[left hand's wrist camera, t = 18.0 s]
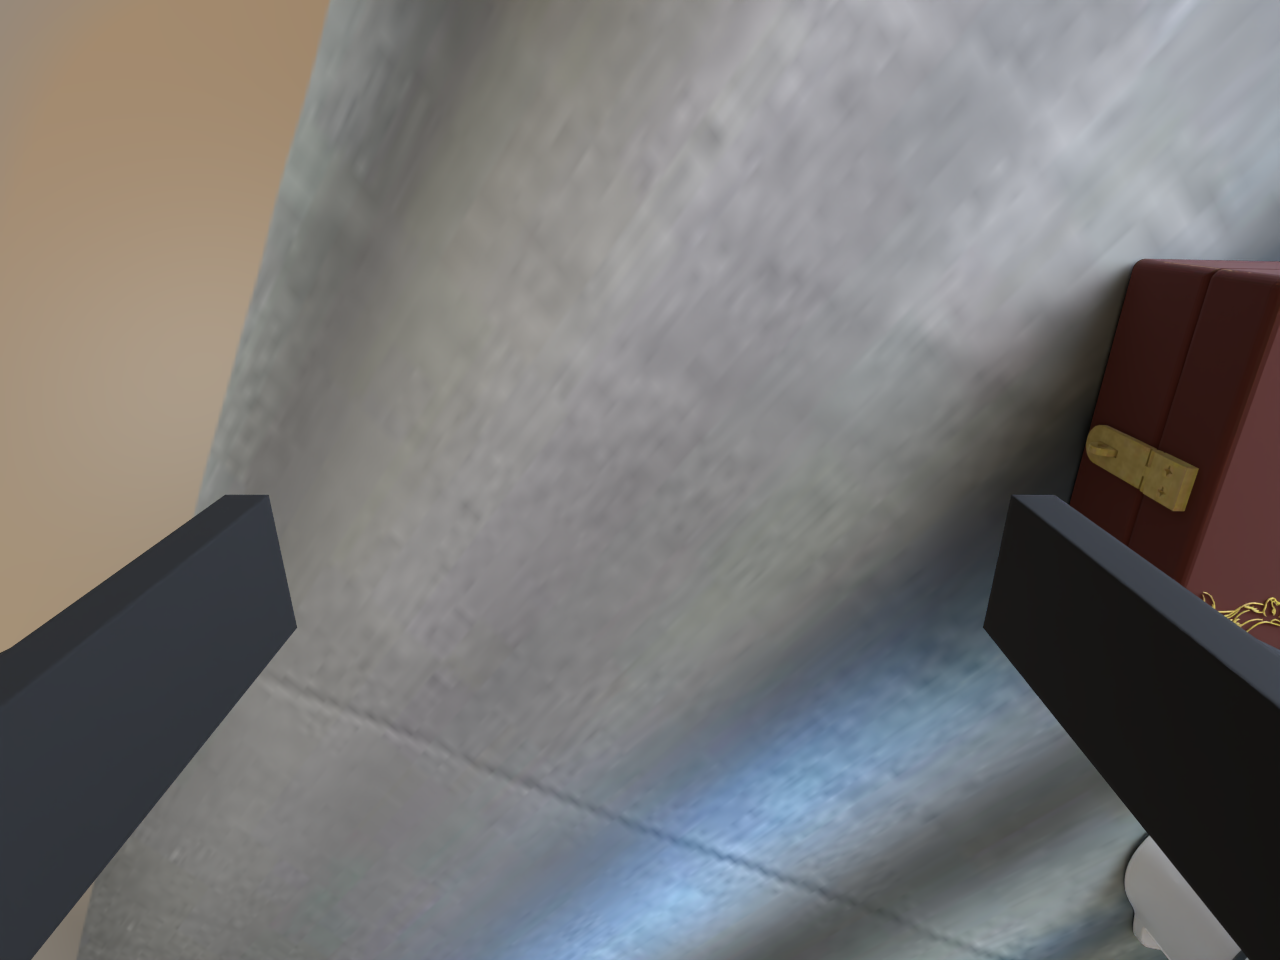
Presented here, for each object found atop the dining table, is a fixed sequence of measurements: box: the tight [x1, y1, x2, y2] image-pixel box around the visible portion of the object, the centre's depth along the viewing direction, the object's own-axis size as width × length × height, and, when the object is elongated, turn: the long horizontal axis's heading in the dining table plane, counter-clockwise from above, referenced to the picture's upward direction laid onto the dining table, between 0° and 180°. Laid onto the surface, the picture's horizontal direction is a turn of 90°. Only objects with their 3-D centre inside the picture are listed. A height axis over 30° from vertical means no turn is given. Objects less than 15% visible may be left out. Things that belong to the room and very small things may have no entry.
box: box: [1069, 259, 1280, 650], centre depth 39 cm, size 21×16×10 cm
